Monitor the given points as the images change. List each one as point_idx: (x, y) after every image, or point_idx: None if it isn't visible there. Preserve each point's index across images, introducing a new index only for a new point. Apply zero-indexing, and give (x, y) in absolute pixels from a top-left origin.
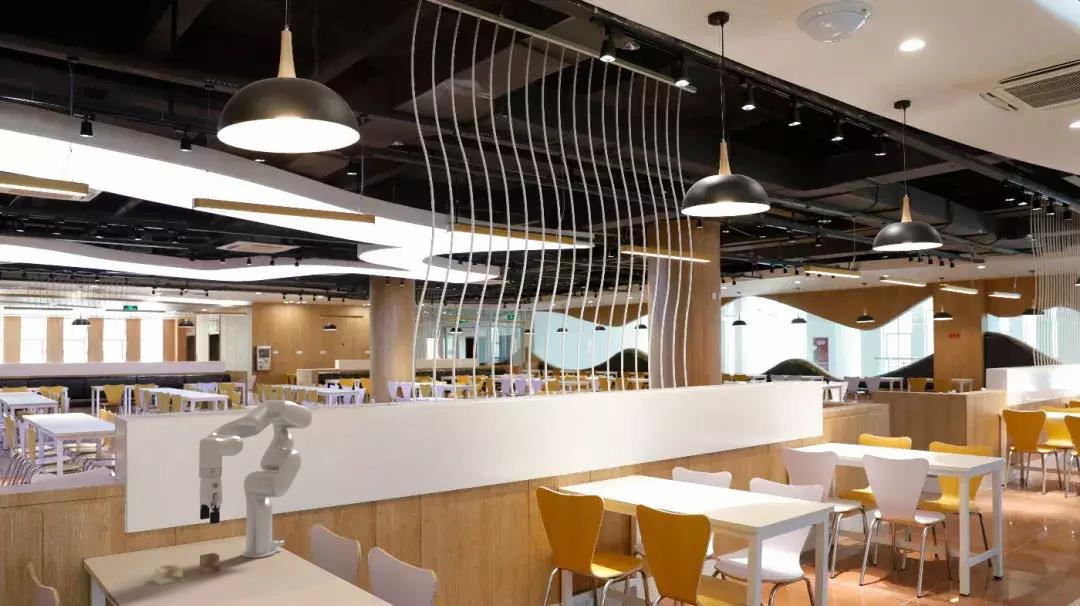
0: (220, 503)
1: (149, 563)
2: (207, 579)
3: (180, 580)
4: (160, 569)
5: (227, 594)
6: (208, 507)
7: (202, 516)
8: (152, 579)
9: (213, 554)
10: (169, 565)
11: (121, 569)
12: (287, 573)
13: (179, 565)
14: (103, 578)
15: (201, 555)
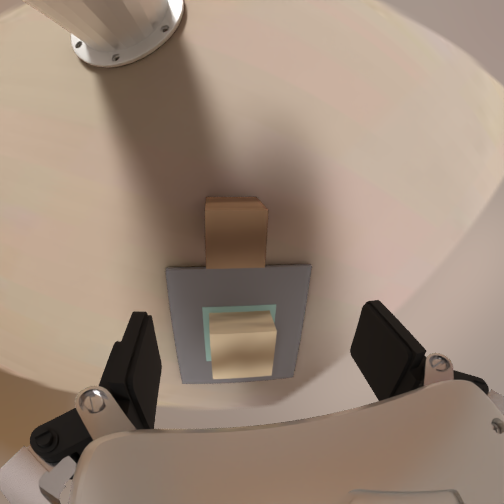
0: (437, 391)
1: (32, 310)
2: (299, 250)
3: (274, 316)
4: (246, 373)
5: (431, 255)
6: (128, 392)
7: (156, 373)
8: (209, 360)
9: (233, 223)
10: (219, 352)
11: (59, 362)
12: (405, 73)
13: (242, 333)
14: None
15: (212, 265)
